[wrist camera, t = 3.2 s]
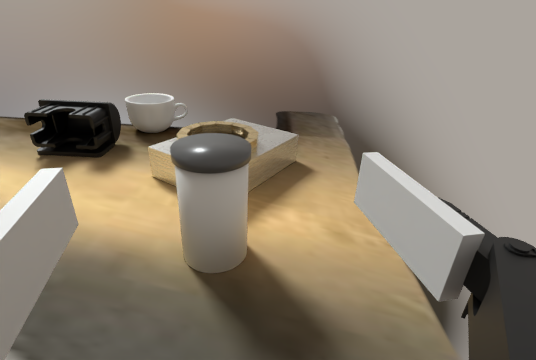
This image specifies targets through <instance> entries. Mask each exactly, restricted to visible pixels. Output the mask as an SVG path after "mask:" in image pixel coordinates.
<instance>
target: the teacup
mask: <svg viewBox="0 0 536 360" xmlns="http://www.w3.org/2000/svg"><path fill="white" fill-rule="evenodd" d="M125 102H126V107H127V111H128V115H129V119H130V121H131V123H132V124H133V125H134V127H136V128H137V129H138V130H140V131H142V132H146V133H157V132H162V131H164V130H166V129H167V128H169V127H170V125H171V124H172V122H173V121H175V120H178V119H181V118H183V117H184V116H186V114H187V112H188V110H187V107H186V105H185V104H183V103H177V104H174V97H173V96H170V95H166V94H157V93H150V94H149V93H148V94H137V95H132V96H129V97H127V98H125ZM179 106H183V107H185V113H184V114H183V115H181V116H174V113H175V111H176V109H177V108H178V107H179Z"/></svg>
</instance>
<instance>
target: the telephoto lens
mask: <svg viewBox="0 0 536 360" xmlns="http://www.w3.org/2000/svg"><path fill="white" fill-rule="evenodd" d="M170 153H171V161H172V163H173V164H174V165H175V175H176V185H177V195H178V205H179V215H180V225H181V235H182V245H183V256H184V260H185V262H186V263H187V264H188V265H189V266H190V267H191V268H193V269H195V270H197V271H200V272H204V273H220V272H225V271H228V270H231V269H233V268H235V267H236V266H238V265H239V264H240V263H241V262H242V261H243V260H244V259H245V257H246V254H247V221H248V164H249V161H250V160H251V144H250V143H249V142H248V141H247V140H245V139H243V138H241V137H238V136H235V135H230V134H222V133H203V134H195V135H190V136H186V137H183V138H180V139H178V140H176V141H175V142H174V143H173V144H172V145H171V147H170Z"/></svg>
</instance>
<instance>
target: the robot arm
mask: <svg viewBox="0 0 536 360" xmlns="http://www.w3.org/2000/svg"><path fill="white" fill-rule="evenodd" d="M354 203H355V204H356V205H357V206H358V207H359V209H360V210H361V211H362V212H363V213H364V214H365V216H366V217H367V218H368V219H369V220H370V221H371V223H372V224H373V225H374V226H375V227H376V229H377V230H378V231H379V232H380V233H381V234H382V236H383V237H384V238H385V239H386V240H387V242H388V243H389V244H390V245H391V246H392V247H393V249H394V250H395V251H396V252H397V253H398V254H399V256H400V257H401V258H402V259H403V260H404V262H405V263H406V264H407V265H408V266H409V267H410V269H411V270H412V271H413V272H414V273H415V274H416V276H417V277H418V278H419V279H420V280H421V281H422V283H423V284H424V285H425V286H426V287H427V289H428V290H429V291H430V292H431V293H432V295H433V296H434V297H435V298H436V299H437V300H438V301H445V300H451V299H458V297H459V294H460V292H461V290H462V287H463V285H464V286H466V288H467V289H468V290H469V291H470V292H471V295H470V298H469V300H468V302H467V304H466V307H465V309H464V311H463V313H462V316H461V317H462V318H465V317H466V315H467V314H468V327H469V360H536V248H535V247H534V246H532V245H530V244H527V243H526V242H524V241H520V240H518V239H514V238H509V237H499V238H497V237H496V236H495V235H493V234H492V233H491V232H489V231H488V230H486V229H485V228H483V227H482V226H481V225H480V224H478V223H477V222H476V221H474V220H473V219H472V218H471V219H470V218H469V216H468V215H466V214H465V213H462V212H461V210H459V209H458V208H457V207H455V206H454V205H453V204H451V203H449V202H447V201H445V200H443V199H440V198H437V197H436V196H435V195H433V194H432V193H431V192H429V191H428V190H427V189H425V188H424V187H423V186H421V185H420V184H419V183H418V182H416V181H415V180H414V179H412V178H411V177H410V176H408V175H407V174H405V173H404V172H403V171H402V170H400V169H399V168H398V167H396V166H395V165H394V164H392V163H391V162H390V161H388V160H387V159H386V158H384V157H383V156H382V155H380V154H379V153H378V152H373V153H363V155H362V162H361V167H360V172H359V178H358V183H357V189H356V194H355V200H354ZM77 226H78V221H77V218H76V214H75V211H74V207H73V203H72V200H71V196H70V193H69V189H68V186H67V182H66V179H65V175H64V172H63V168H47V169H40V171H39V172H38V173H37V174H36V175H35V176H34V177H33V178H32V179H31V180H30V181H29V182H28V183H27V184H26V185H25V186H24V187H23V188H22V189H21V190H20V191H19V192H18V193H17V194H16V195H15V196H14V197H13V198H12V199H11V200H10V201H9V202H8V203H7V204H6V205H5V206H4V207H3V208H2V209H1V210H0V360H4V359H5V357H6V356H7V354H8V352H9V350H10V348H11V347H12V345H13V343H14V341H15V339H16V337H17V336H18V334H19V332H20V330H21V328H22V326H23V325H24V323H25V321H26V319H27V317H28V316H29V314H30V312H31V310H32V308H33V306H34V305H35V303H36V301H37V299H38V297H39V295H40V294H41V292H42V290H43V288H44V286H45V284H46V283H47V281H48V279H49V277H50V275H51V274H52V272H53V270H54V268H55V266H56V264H57V263H58V261H59V259H60V257H61V255H62V253H63V252H64V250H65V248H66V246H67V244H68V243H69V241H70V239H71V237H72V235H73V233H74V232H75V230H76V228H77Z"/></svg>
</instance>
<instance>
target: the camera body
mask: <svg viewBox="0 0 536 360" xmlns="http://www.w3.org/2000/svg"><path fill="white" fill-rule="evenodd" d="M203 133H222V134H230V135H235V136H238V137H241V138H243V139H245V140H247V141H248V142H249V143H250V144H251V160H250V161H249V164H248V192H249V191H250V190H252V189H253V188H255V187H257V186H258V185H260V184H261V183H263V182H264V181H266V180H267V179H269V178H270V177H272V176H273V175H275V174H276V173H278V172H279V171H281V170H282V169H284V168H285V167H287V166H289V165H290V164H292V163H293V162H295V161H296V155H297V144H298V135H297V134H293V133H290V132H286V131H282V130H278V129H273V128H270V127H266V126H262V125H258V124H254V123H250V122H246V121H242V120H238V119H234V118H231V119H228V120H225V121H211V122H202V123H195V124H192V125H190V126H186V127H183V128H182V129H181V130H180V131H179V132H178V133H177V134H176V136H177V137H175V138H173V139H170V140H167V141H164V142H161V143H158V144H155V145H152V146H149V147H148V150H149V157H150V164H151V172H152V176H153V177H155V178H157V179H160V180H162V181H164V182H167V183H169V184H171V185H174V186H176V187H177V185H176V175H175V165H174V164H173V163H172V161H171V153H170V147H171V145H172V144H173V143H174V142H175V141H176V140H178V139H180V138H183V137H186V136H190V135H195V134H203Z"/></svg>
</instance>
